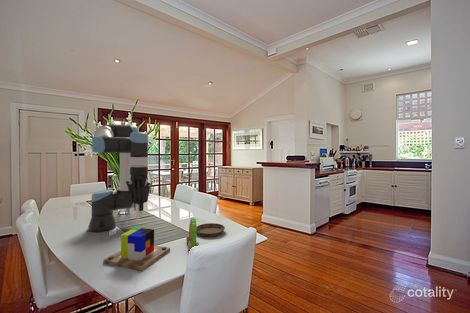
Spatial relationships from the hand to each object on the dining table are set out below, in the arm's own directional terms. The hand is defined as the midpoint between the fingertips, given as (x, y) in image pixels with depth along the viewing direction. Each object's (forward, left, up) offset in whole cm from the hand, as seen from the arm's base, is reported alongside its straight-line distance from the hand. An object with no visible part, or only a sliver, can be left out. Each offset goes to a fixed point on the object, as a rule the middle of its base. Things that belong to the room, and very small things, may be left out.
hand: (138, 217), depth 105 cm
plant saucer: (+18, +40, -19) cm, 48 cm away
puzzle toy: (0, 0, -17) cm, 17 cm away
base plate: (0, 0, -18) cm, 18 cm away
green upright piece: (+18, +18, -18) cm, 31 cm away
